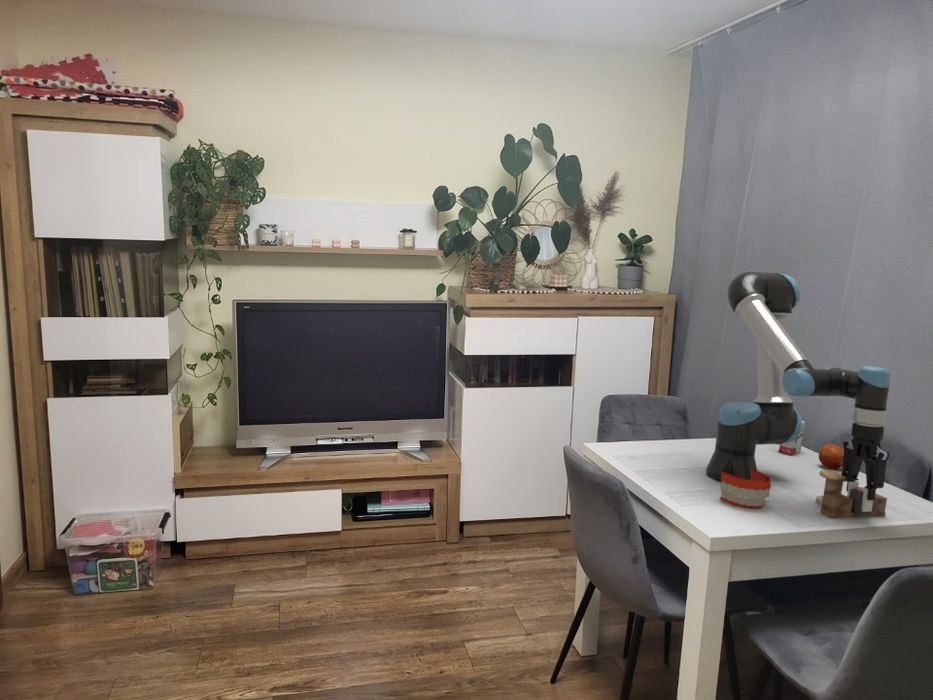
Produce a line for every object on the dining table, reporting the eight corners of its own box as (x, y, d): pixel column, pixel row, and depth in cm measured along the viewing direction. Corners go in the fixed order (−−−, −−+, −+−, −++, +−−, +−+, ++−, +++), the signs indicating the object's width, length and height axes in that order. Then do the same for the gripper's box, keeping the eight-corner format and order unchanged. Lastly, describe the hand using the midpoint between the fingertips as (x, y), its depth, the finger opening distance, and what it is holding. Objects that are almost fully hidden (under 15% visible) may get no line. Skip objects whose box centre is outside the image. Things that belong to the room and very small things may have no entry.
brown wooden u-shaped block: (830, 518, 192) (833, 499, 191) (820, 512, 196) (822, 494, 195) (884, 516, 197) (887, 498, 196) (873, 510, 200) (876, 493, 200)
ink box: (792, 456, 253) (796, 423, 251) (778, 452, 256) (782, 420, 254) (801, 452, 259) (805, 420, 257) (787, 449, 262) (791, 417, 260)
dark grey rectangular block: (870, 514, 193) (874, 490, 192) (858, 515, 192) (862, 491, 191) (859, 509, 197) (862, 485, 196) (847, 509, 196) (850, 486, 195)
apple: (831, 464, 246) (834, 441, 245) (850, 471, 238) (854, 448, 237) (812, 464, 244) (815, 442, 242) (831, 472, 236) (834, 449, 234)
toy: (744, 512, 192) (748, 484, 191) (716, 499, 201) (720, 472, 200) (778, 508, 197) (782, 480, 196) (750, 495, 206) (753, 469, 205)
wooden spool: (829, 509, 199) (834, 479, 198) (809, 499, 207) (813, 470, 205) (853, 508, 201) (857, 478, 200) (832, 498, 209) (836, 469, 207)
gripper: (907, 431, 184) (896, 518, 187) (854, 417, 201) (845, 497, 204) (883, 431, 182) (873, 519, 185) (832, 417, 199) (823, 498, 202)
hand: (858, 507), depth 194 cm, fingers open, 5 cm apart
